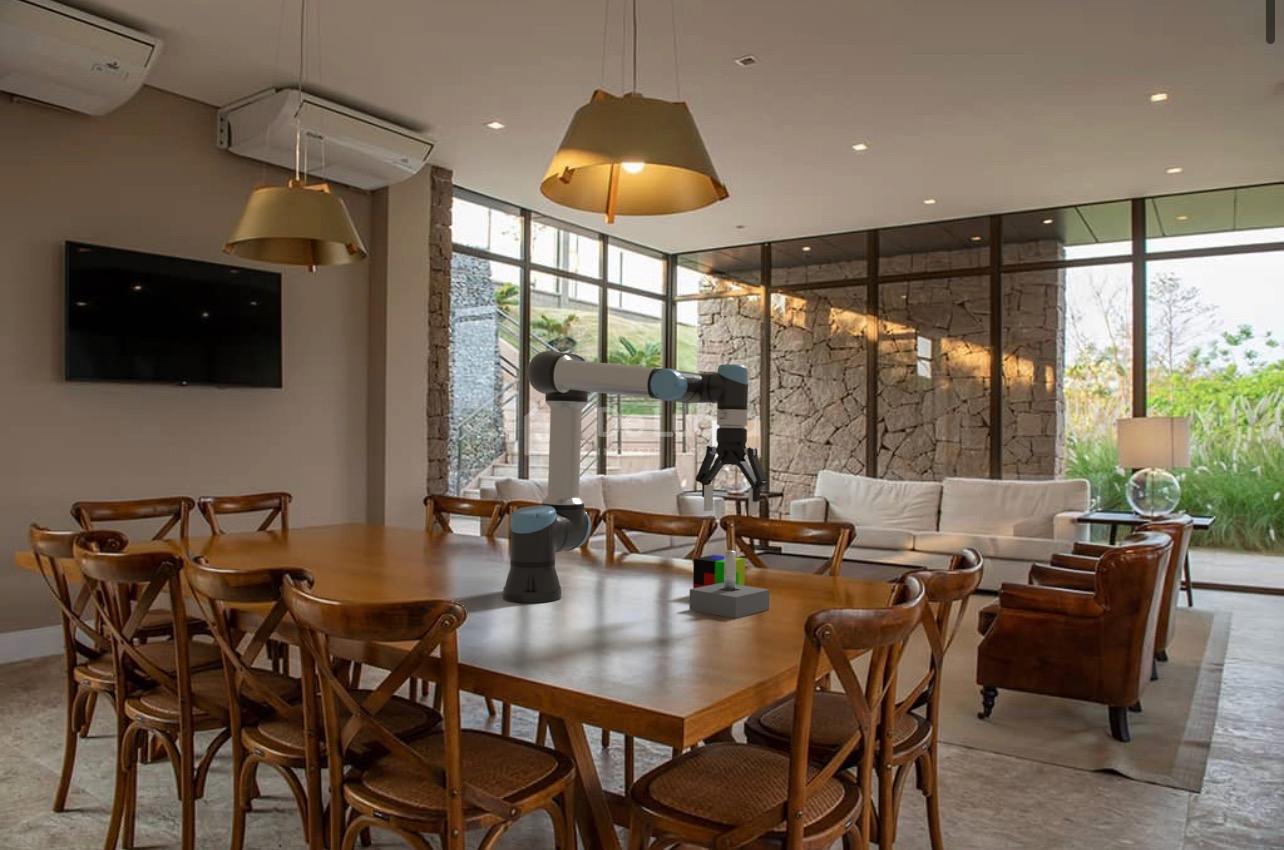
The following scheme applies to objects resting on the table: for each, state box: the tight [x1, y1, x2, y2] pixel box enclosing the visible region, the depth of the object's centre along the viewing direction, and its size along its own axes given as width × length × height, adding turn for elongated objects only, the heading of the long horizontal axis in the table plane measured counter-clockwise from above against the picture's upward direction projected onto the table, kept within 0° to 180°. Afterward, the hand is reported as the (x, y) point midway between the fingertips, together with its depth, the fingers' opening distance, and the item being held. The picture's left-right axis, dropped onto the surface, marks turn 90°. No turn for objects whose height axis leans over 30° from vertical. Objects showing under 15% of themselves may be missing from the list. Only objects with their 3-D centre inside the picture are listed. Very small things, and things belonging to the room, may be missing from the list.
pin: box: [724, 549, 737, 592], centre depth 214 cm, size 3×3×13 cm
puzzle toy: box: [692, 554, 746, 589], centre depth 232 cm, size 10×10×10 cm
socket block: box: [689, 583, 770, 619], centre depth 214 cm, size 14×14×5 cm
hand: (730, 513), depth 214 cm, fingers open, 13 cm apart
